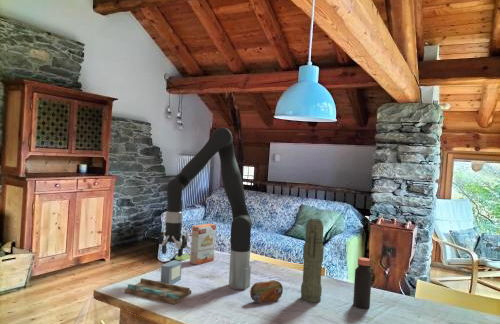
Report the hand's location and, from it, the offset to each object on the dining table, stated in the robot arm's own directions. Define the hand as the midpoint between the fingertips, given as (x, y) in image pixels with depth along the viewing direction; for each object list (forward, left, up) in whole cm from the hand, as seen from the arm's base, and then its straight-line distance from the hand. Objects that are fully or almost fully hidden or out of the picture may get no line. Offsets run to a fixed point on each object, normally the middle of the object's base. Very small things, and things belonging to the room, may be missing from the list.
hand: (171, 255), depth 170 cm
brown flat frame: (-3, +14, -13) cm, 19 cm away
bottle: (-85, -16, -13) cm, 88 cm away
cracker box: (+3, -36, -13) cm, 38 cm away
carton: (0, 0, -13) cm, 13 cm away
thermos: (-64, -12, -13) cm, 67 cm away
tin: (-47, -1, -13) cm, 49 cm away
